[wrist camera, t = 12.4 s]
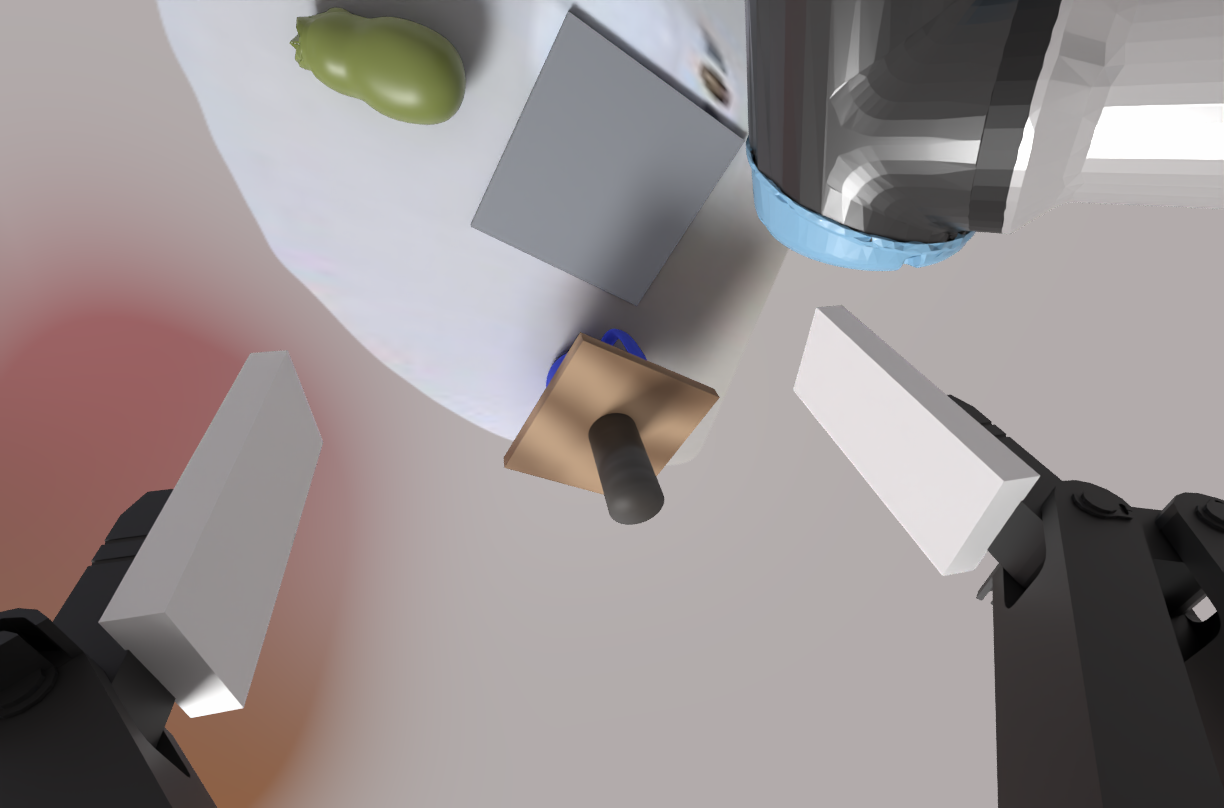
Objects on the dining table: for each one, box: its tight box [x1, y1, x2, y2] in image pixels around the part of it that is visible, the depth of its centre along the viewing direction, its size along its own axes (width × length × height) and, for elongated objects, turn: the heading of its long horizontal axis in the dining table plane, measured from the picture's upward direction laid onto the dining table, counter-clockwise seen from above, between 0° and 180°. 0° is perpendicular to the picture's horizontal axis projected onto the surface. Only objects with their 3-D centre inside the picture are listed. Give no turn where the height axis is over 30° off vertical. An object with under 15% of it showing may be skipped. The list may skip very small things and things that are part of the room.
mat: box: [471, 11, 744, 306], centre depth 43 cm, size 16×16×1 cm
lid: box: [504, 332, 720, 525], centre depth 42 cm, size 13×13×9 cm
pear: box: [290, 7, 466, 125], centre depth 34 cm, size 6×5×10 cm
